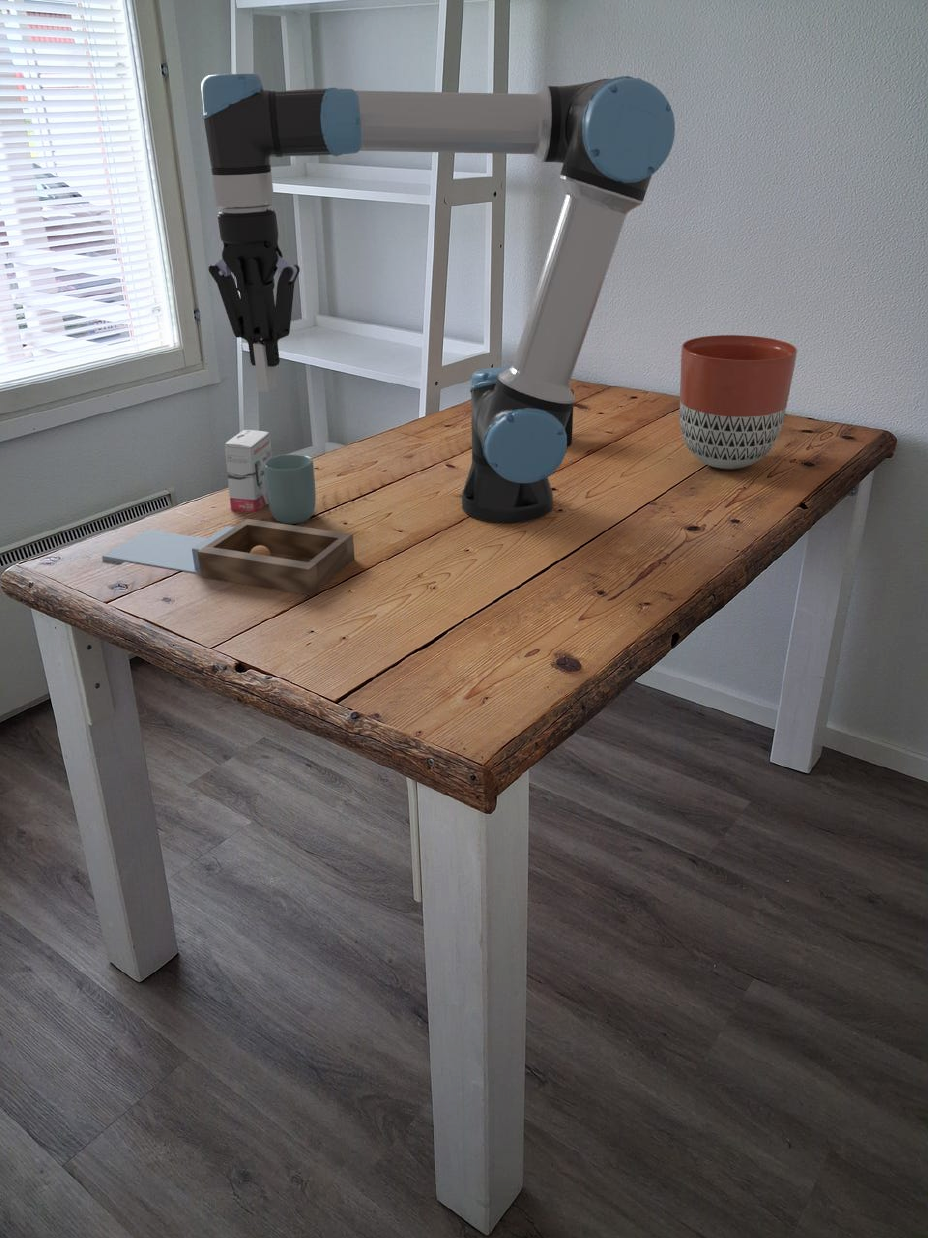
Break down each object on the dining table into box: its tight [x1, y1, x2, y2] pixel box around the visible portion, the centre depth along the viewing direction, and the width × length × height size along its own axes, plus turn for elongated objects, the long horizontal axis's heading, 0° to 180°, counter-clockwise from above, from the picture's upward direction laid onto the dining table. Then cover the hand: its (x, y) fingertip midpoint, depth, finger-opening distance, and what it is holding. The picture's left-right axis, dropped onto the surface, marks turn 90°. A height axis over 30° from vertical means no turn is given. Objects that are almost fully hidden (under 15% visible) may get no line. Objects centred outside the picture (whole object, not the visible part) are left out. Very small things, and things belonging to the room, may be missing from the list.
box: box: [198, 518, 355, 597], centre depth 145 cm, size 18×13×4 cm
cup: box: [263, 453, 317, 525], centre depth 161 cm, size 8×8×10 cm
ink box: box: [224, 429, 273, 513], centre depth 168 cm, size 9×5×12 cm, turn 168°
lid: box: [101, 525, 235, 575], centre depth 152 cm, size 18×11×4 cm, turn 68°
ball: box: [250, 545, 271, 556], centre depth 146 cm, size 3×3×3 cm
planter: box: [679, 334, 798, 470], centre depth 179 cm, size 20×20×21 cm
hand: (268, 388), depth 141 cm, fingers closed
